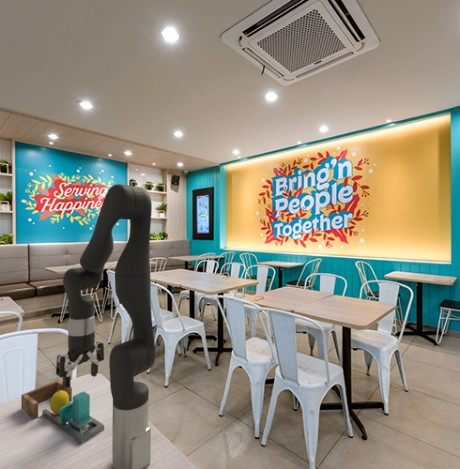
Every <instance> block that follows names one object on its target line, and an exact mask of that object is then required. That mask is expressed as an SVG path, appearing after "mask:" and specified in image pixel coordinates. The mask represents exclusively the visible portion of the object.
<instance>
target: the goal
mask: <svg viewBox="0 0 460 469" xmlns="http://www.w3.org/2000/svg"><path fill="white" fill-rule="evenodd" d="M59 390H62V391H65V392H67V394H68V396H69V403H71V402H73V387H72V386H70V388H68V389H67V388H66V387H64V386H63V380H59V379H56V380H54V381H52V382H50V383H47V384H44V385H43V386H40V387H38V388H35V389H33V390H32V389H31V391H27V392H25V393H23V394H21V397H20V398H21V400H20V401H21V407H20V408H21V410H22V412H24V413H26V414H27V415H28V416H30V417H31V418H32V419H33V420H36V419H38V418H39V404H40V403H42V402H45V401H47V400H49V399H51V398H52V396H53V395H54V394H55V393H56V392H58V391H59Z"/></svg>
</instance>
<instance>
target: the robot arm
mask: <svg viewBox="0 0 460 469" xmlns="http://www.w3.org/2000/svg"><path fill="white" fill-rule="evenodd" d="M152 204H153V203H152V198H151V194H150V192H149V191H148V190H147V189H146V188H144V187H140V186H135V185H128V184H114V185H112V186H110V187H109V189H108V190H107V192H106V193H105V196H104V199H103V201H102V203H101V207H100V210H99V213H98V216H97V220H96V221H95V222H96V223H95V226H94V230H93V231H92V236H91V238H90V240H89V242H88V244H87V245H86V247H85V249H84V250H83V253H82V254H81V256H80V257H79V258H80V259H79V264H80V266H81V267H73V268H69V269H67V270H66V271H65V272H64V274H63V277H62V283H63V287H64V290H65V292H66V298H67V301H68V307H69V311H68V312H69V313H68V316H69V318H68V325H67V348H68V351H67V353H66V354H58V355H57V356H56V366H55V375H56V376H58V377H59V378H62V382H63V386H64V387H66V388H67V389H68V388H70V387H72V386H71V382H72V381H71V378H72V377H71V374H72V373H73V371H74V370H75V369H76V368H77V366H79V365H81V364H83V363H87V362H89V361H90V362H91V364H90V376H92V377H94V378H95V377H96V376H98V375H97V374H98V373H99V364H100V362H103V361H104V360H105V351H104V350H105V348H104V343H103V342H102V341H101V342H100V341H96V340H95V339H96V319H95V299H94V298H93V297H91V296H89V295H87V296H86V295H85V296H84V295H82V294H81V291H84V290H91V289H94V288H96V287H98V286H99V284H100V283H101V282H102V277H103V273H104V268H105V265H106V264H107V262H108V260H109V258H110V257H111V256H112V253H113V251H114V238H113V228H114V227H115V225H116V224H117V223H118V222H119V221H120V220H129V222H130V223H129V224H130V226H129V235H128V236H129V237H128V239H127V243H126V244H125V247H124V248H123V250H122V253H121V254H120V256H119V258H118V259H117V261H116V262H117V263H116V265H115V268H114V286H115V287H114V290H115V294H116V295H115V296H116V297H117V299H118V302H119V304H121V306H122V307H123V309H124V310H125V311H126V312H127V314H128V315H129V318H130V320H131V324H132V334H133V335H132V339H130V340H127V341H124V342H122V343H121V342H120V343H118V344H116V345H114V347H112V349H111V350H110V354H109V366H108V367H109V380H110V381H109V384H110V386H109V387H110V394H111V398H112V433H111V434H112V438H111V440H112V447H111V452H112V459H111V461H112V463H111V464H112V469H144V468H146V467H147V466H148V465H150V464H151V454H152V452H151V449H152V448H151V446H152V445H151V444H152V436H151V435H152V429H151V427H149V407H150V406H149V404H150V403H149V402H150V401H149V400H150V399H149V398H150V394H149V393H150V391H149V390H150V389H149V387H148V385H147V384H146V383H144V382H142V381H137V380H136V381H135V377H136V376H138V375H140V374H143V373H144V372H146V371H148V370H149V369H151V368H152V367H153V365H154V364H155V361H156V342H155V336H154V335H155V334H154V328H153V318H152V299H151V290H152V289H151V285H152V284H151V264H150V263H151V262H150V261H151V259H150V257H151V256H150V250H151V249H150V241H151V239H150V236H151V226H152V211H153V210H152V209H153V208H152ZM95 341H96V342H95ZM94 352H96V356H95V355H94V354H93V353H94Z"/></svg>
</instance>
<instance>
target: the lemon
mask: <svg viewBox="0 0 460 469" xmlns="http://www.w3.org/2000/svg"><path fill="white" fill-rule="evenodd" d="M69 403H70V402H69V396H68V394H67V392H65V391H62V390H59V391H58V392H56V393H55V394H54V395H53V396H52V397H51V398H50V401H49V404H50V405H49V406H50V410H51V412H52V413H53V414H58V415H60V408H61V407H63V406H65V405H67V404H69Z"/></svg>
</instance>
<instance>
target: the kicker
mask: <svg viewBox="0 0 460 469" xmlns="http://www.w3.org/2000/svg"><path fill="white" fill-rule="evenodd" d="M90 397H91V396H90V394H89V393H87V392H85V391H81V392H79V393H77V394H75V395H72V401H70V402H69V404H67V405H65V406H63V407H61V408H60V414H59V418H60V424H61V425H62V424H64V423H67V424H68V425H69V426H71V427H72V428H74V429H75V430H76V431H78V432H79V433H81V434H82V435H83V434H84V433H86V432H88V431H89V430H91V429H92V428H94V427H93V421H92V420H91V419H90V416H91V415H90V413H91V412H90V409H91V408H90V407H91V406H90V400H91V398H90Z"/></svg>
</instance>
